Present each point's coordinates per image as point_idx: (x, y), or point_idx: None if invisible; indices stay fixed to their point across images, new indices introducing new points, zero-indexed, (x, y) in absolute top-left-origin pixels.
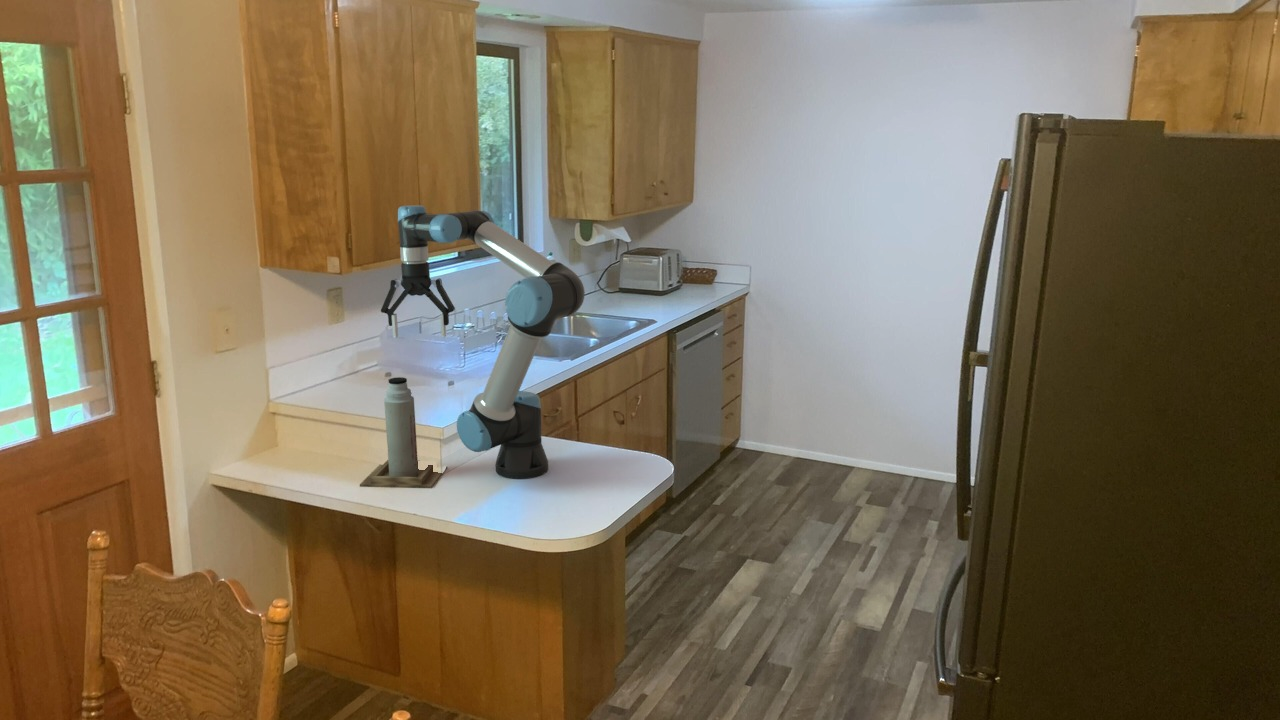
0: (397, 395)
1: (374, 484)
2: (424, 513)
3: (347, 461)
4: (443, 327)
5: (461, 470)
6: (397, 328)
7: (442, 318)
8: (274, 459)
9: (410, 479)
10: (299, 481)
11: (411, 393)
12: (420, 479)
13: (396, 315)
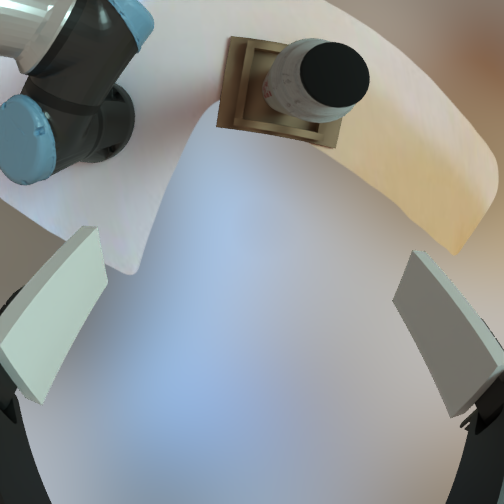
0: (320, 40)
1: None
2: None
3: (384, 181)
4: (45, 264)
5: (190, 115)
6: (413, 330)
7: (6, 314)
8: (462, 208)
9: (268, 43)
10: (434, 109)
11: (279, 78)
12: (250, 40)
13: (451, 401)
